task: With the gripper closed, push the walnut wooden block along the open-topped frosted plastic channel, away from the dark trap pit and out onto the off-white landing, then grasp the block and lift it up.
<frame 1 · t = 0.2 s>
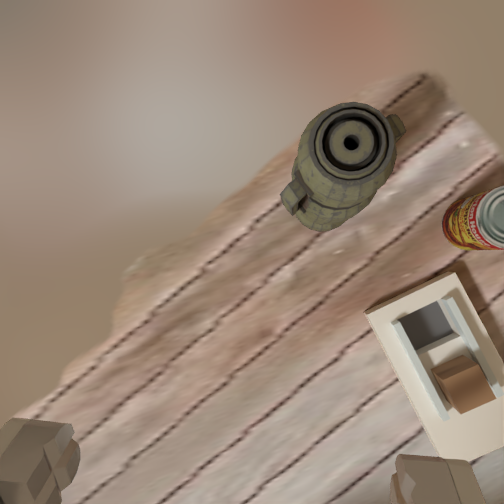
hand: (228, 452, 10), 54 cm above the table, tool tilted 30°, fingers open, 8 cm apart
thermos: (321, 203, 63), on the table
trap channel: (443, 365, 61), on the table
canned food: (468, 224, 61), on the table
walnut block: (454, 377, 58), point 3 cm above the table, touching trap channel
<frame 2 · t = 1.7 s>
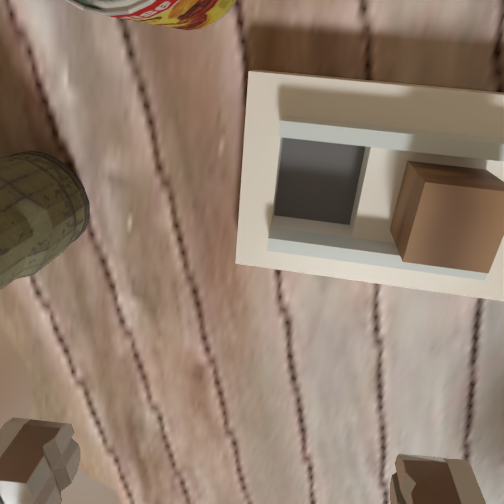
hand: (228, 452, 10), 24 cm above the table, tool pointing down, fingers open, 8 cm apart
thermos: (44, 198, 36), on the table
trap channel: (411, 186, 30), on the table
walnut block: (435, 201, 27), point 3 cm above the table, touching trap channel
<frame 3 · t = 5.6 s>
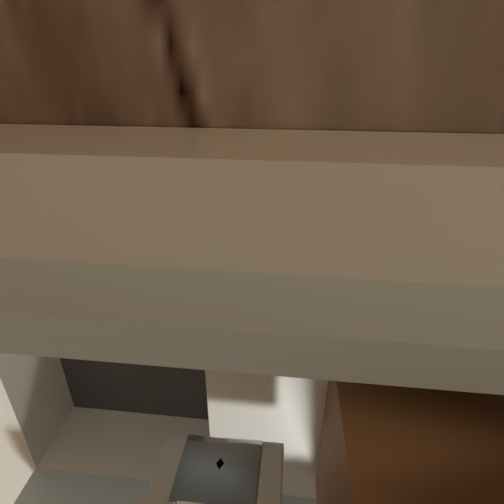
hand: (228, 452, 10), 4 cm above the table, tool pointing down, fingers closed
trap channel: (345, 347, 13), on the table
walnut block: (420, 431, 10), point 3 cm above the table, touching gripper, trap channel
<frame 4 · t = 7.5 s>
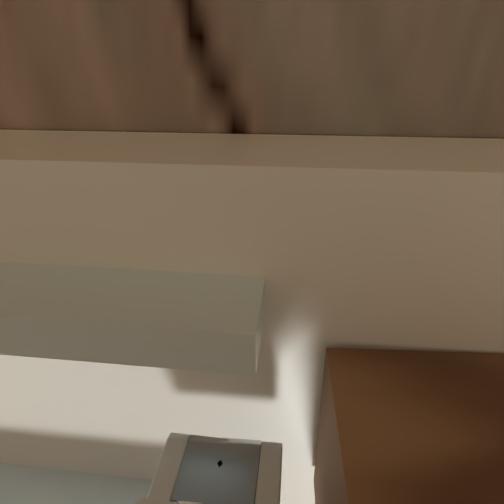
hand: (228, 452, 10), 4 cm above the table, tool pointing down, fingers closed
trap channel: (130, 333, 14), on the table
walnut block: (416, 425, 10), point 3 cm above the table, touching gripper, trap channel
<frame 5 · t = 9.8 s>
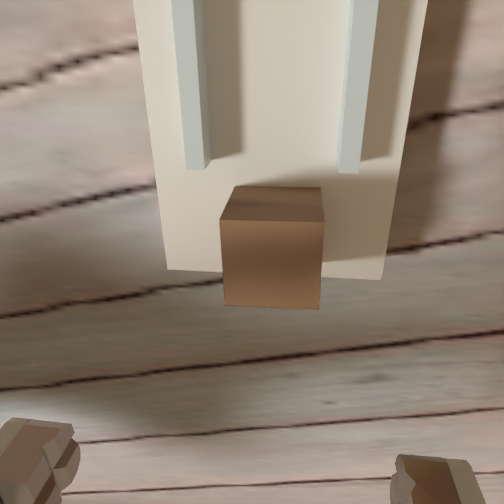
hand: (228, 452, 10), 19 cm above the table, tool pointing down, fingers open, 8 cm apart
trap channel: (277, 60, 23), on the table
walnut block: (276, 225, 24), point 3 cm above the table, touching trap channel
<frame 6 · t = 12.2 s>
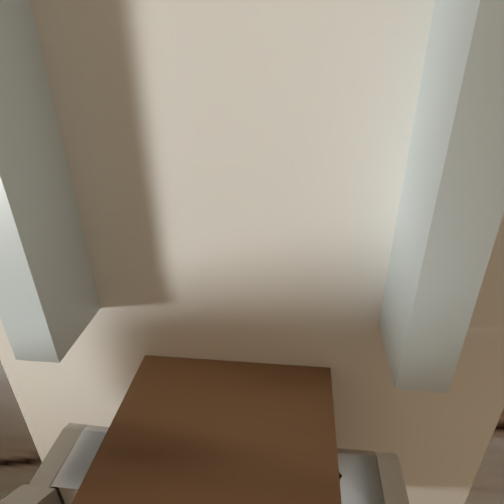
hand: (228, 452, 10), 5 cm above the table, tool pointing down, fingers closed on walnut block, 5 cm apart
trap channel: (246, 87, 10), on the table
walnut block: (238, 424, 12), point 3 cm above the table, touching gripper
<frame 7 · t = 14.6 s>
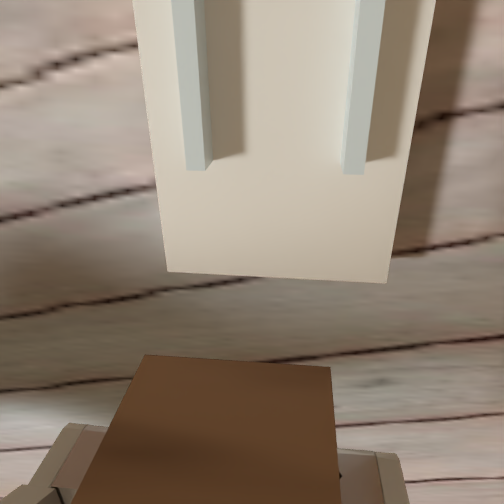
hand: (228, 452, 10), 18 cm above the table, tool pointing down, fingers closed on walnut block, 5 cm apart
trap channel: (280, 58, 22), on the table
walnut block: (238, 424, 12), point 17 cm above the table, touching gripper
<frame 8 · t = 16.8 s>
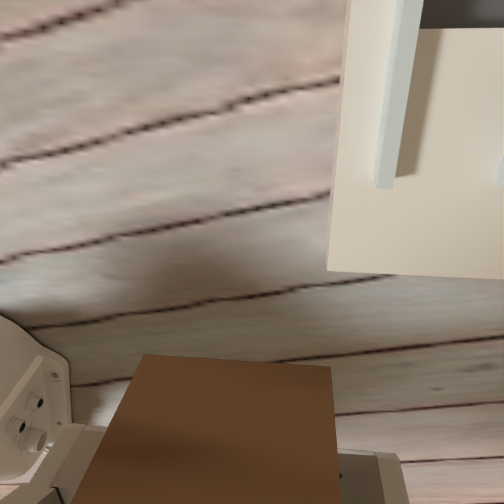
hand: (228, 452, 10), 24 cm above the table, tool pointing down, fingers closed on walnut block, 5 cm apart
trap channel: (442, 96, 27), on the table
walnut block: (238, 424, 12), point 22 cm above the table, touching gripper
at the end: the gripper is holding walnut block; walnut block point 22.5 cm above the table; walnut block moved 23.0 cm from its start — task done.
